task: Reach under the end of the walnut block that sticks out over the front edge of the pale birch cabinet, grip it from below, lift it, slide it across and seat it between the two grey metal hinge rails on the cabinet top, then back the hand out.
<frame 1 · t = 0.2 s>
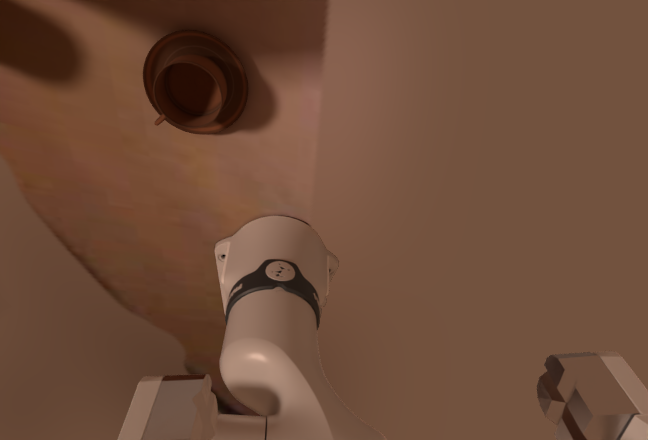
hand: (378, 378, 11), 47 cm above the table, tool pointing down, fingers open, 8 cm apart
cup and saucer: (199, 80, 53), on the table
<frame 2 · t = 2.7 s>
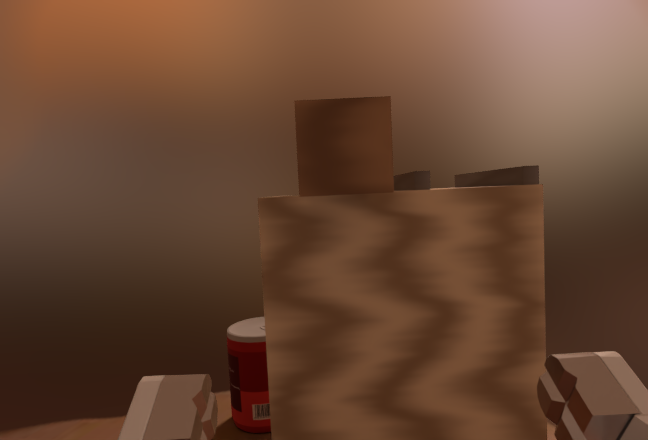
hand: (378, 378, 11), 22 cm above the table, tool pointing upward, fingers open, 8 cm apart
walnut block: (335, 193, 30), point 26 cm above the table, touching cabinet
canned food: (266, 418, 52), on the table
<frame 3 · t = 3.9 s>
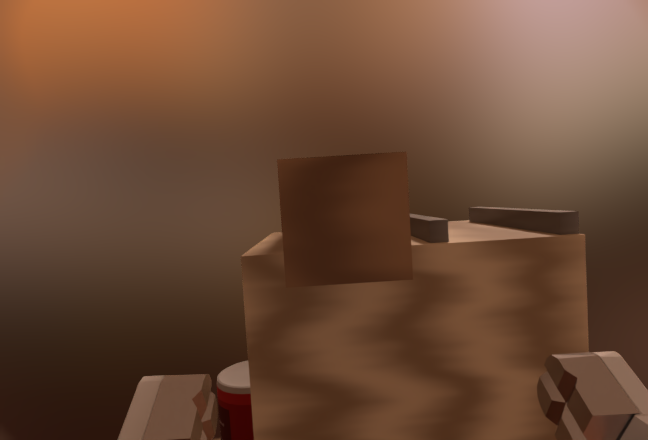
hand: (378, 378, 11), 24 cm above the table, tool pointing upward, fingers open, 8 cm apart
walnut block: (334, 244, 26), point 26 cm above the table, touching cabinet
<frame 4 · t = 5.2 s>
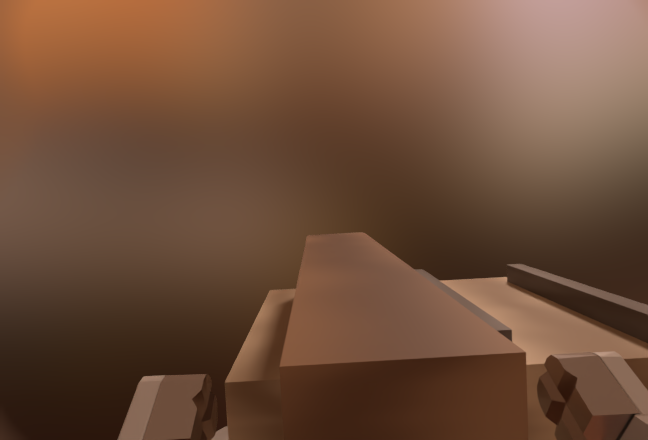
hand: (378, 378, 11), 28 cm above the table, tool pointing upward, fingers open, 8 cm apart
walnut block: (352, 346, 19), point 26 cm above the table, touching cabinet
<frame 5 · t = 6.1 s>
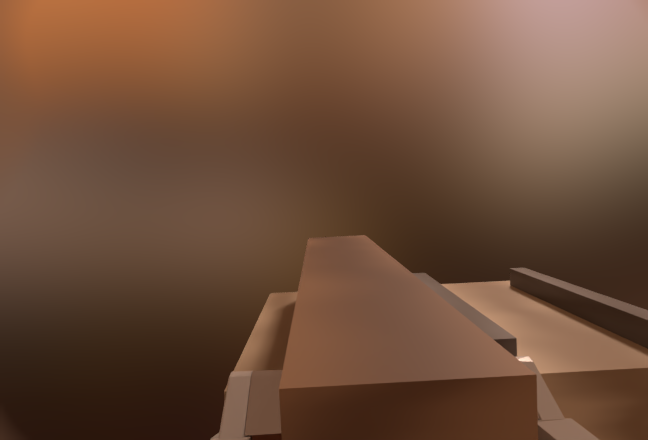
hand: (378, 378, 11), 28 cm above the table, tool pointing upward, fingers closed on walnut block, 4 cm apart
walnut block: (353, 353, 19), point 26 cm above the table, touching cabinet, gripper
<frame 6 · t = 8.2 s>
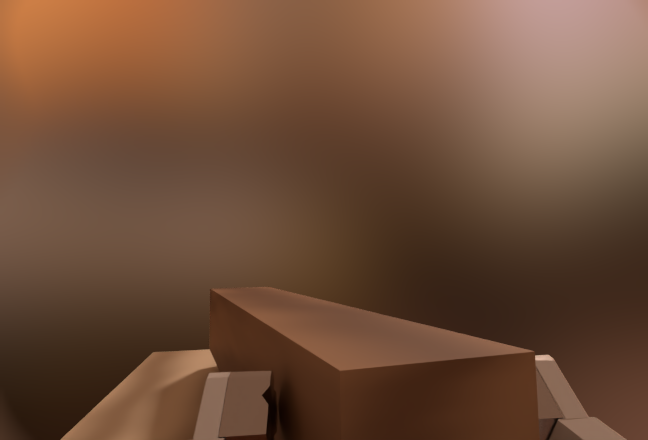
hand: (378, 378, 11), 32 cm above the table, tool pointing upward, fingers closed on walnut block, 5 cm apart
walnut block: (281, 397, 19), point 28 cm above the table, tilted 9°, touching cabinet, gripper
when the fingers open (29 cm above the table, at t = 9.3 s): walnut block stays where it is, resting on cabinet.
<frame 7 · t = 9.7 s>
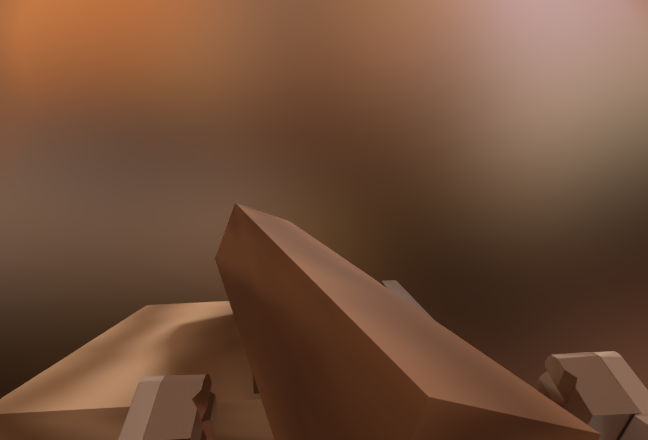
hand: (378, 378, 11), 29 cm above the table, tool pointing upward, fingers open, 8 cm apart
walnut block: (282, 339, 19), point 27 cm above the table, tilted 23°, touching cabinet
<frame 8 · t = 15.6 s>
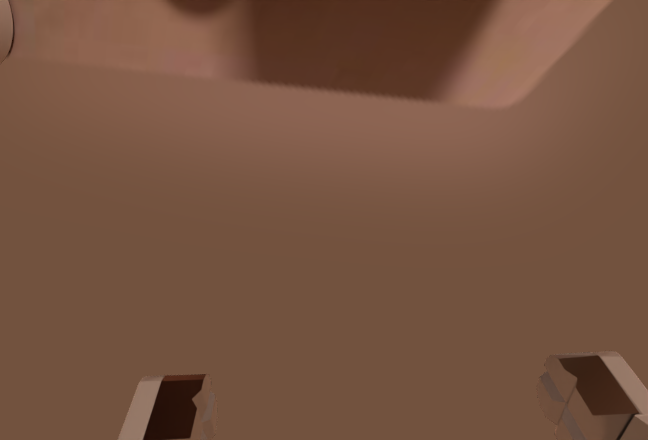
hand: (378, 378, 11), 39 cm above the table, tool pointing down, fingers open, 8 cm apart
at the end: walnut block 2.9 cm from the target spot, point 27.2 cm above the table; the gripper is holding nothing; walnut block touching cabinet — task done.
